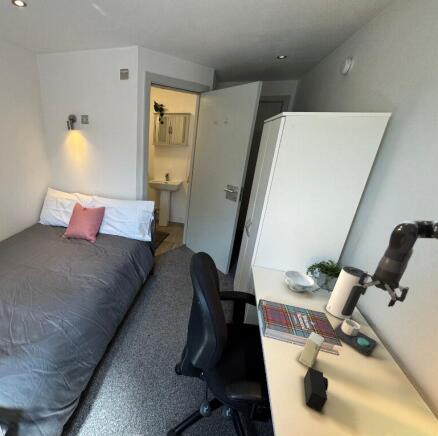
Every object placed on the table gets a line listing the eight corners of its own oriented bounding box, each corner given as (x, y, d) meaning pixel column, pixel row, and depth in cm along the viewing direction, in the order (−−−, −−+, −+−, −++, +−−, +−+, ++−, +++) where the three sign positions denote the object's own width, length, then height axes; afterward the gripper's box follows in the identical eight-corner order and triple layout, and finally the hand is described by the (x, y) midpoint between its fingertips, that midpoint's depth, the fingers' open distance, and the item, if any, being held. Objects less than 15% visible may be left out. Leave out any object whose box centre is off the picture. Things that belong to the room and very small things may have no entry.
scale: (376, 344, 104) (379, 339, 103) (366, 357, 97) (369, 352, 96) (341, 324, 114) (343, 319, 113) (330, 334, 107) (332, 330, 106)
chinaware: (276, 281, 145) (279, 271, 142) (296, 279, 147) (300, 269, 145) (294, 297, 131) (298, 286, 128) (316, 295, 134) (320, 284, 131)
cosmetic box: (310, 369, 91) (320, 346, 87) (298, 360, 94) (307, 338, 90) (315, 359, 95) (325, 338, 91) (304, 352, 98) (312, 330, 94)
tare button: (368, 344, 100) (370, 342, 99) (366, 348, 98) (367, 346, 98) (358, 338, 103) (359, 336, 102) (355, 342, 101) (356, 339, 100)
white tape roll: (358, 333, 107) (362, 325, 105) (353, 339, 104) (357, 330, 102) (343, 325, 112) (347, 317, 110) (338, 330, 109) (342, 321, 107)
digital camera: (325, 414, 76) (332, 401, 74) (305, 405, 79) (312, 392, 76) (320, 386, 85) (327, 373, 82) (303, 379, 87) (309, 366, 85)
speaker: (332, 317, 118) (350, 275, 108) (321, 303, 127) (337, 263, 118) (355, 321, 116) (376, 278, 107) (342, 306, 126) (360, 266, 116)
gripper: (418, 273, 89) (401, 307, 95) (371, 257, 100) (357, 288, 106) (414, 279, 85) (396, 313, 91) (365, 261, 96) (351, 293, 102)
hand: (375, 299), depth 98 cm, fingers open, 8 cm apart
